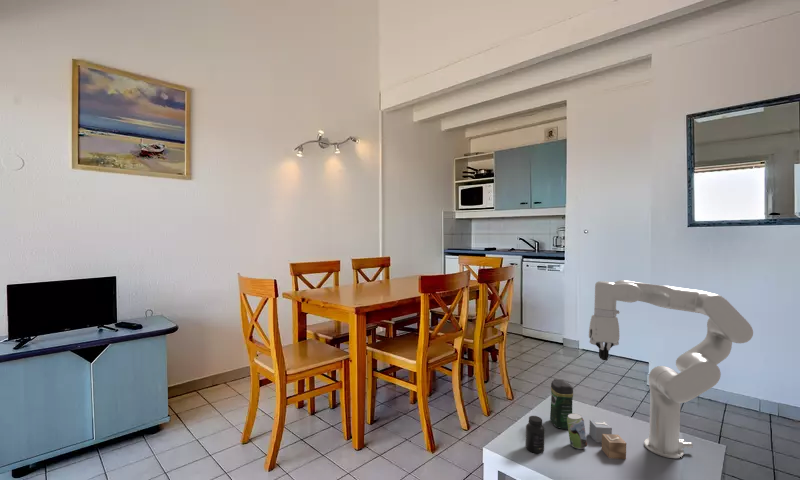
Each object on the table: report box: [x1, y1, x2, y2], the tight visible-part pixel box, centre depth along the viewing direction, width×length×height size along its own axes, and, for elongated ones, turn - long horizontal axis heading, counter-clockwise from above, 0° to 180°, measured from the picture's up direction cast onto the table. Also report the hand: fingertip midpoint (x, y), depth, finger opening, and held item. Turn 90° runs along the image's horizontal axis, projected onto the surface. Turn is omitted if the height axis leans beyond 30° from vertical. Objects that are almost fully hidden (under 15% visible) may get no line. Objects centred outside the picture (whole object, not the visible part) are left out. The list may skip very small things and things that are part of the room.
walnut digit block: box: [601, 433, 627, 460], centre depth 144 cm, size 6×6×6 cm
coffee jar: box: [549, 378, 574, 430], centre depth 166 cm, size 10×8×19 cm
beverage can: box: [567, 412, 588, 450], centre depth 149 cm, size 6×7×12 cm
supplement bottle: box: [524, 415, 546, 455], centre depth 146 cm, size 7×7×12 cm
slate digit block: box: [588, 419, 613, 443], centre depth 155 cm, size 6×6×6 cm
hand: (603, 359), depth 152 cm, fingers closed
